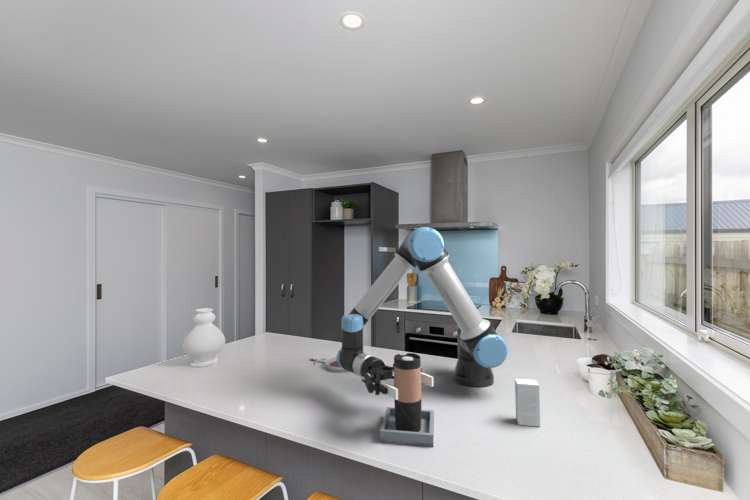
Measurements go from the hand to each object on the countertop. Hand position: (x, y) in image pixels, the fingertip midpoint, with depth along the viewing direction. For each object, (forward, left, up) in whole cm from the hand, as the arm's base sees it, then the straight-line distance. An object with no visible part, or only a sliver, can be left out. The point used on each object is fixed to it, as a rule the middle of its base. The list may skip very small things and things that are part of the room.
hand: (415, 387), depth 93 cm
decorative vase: (+101, -48, -13) cm, 113 cm away
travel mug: (+2, -2, -12) cm, 13 cm away
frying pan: (+41, -54, -14) cm, 69 cm away
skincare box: (-32, -12, -13) cm, 36 cm away
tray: (+2, -2, -13) cm, 13 cm away
